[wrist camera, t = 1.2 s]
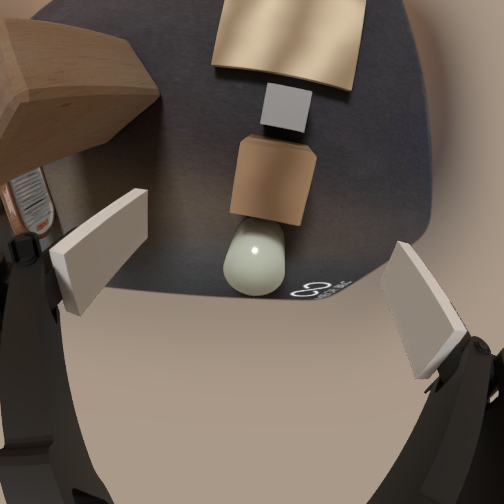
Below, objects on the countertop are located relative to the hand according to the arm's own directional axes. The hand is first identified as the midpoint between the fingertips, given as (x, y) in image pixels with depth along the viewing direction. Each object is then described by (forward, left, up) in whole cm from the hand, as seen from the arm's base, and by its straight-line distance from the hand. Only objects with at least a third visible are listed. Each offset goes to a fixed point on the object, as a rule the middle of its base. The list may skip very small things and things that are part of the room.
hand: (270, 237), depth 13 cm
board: (-1, +16, -17) cm, 24 cm away
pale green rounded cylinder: (0, -9, -17) cm, 19 cm away
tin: (-34, -6, -17) cm, 39 cm away
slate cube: (0, +7, -17) cm, 19 cm away
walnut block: (0, 0, -17) cm, 17 cm away
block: (-20, +7, -17) cm, 28 cm away
